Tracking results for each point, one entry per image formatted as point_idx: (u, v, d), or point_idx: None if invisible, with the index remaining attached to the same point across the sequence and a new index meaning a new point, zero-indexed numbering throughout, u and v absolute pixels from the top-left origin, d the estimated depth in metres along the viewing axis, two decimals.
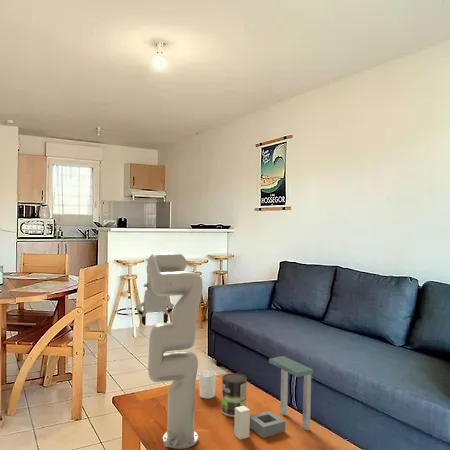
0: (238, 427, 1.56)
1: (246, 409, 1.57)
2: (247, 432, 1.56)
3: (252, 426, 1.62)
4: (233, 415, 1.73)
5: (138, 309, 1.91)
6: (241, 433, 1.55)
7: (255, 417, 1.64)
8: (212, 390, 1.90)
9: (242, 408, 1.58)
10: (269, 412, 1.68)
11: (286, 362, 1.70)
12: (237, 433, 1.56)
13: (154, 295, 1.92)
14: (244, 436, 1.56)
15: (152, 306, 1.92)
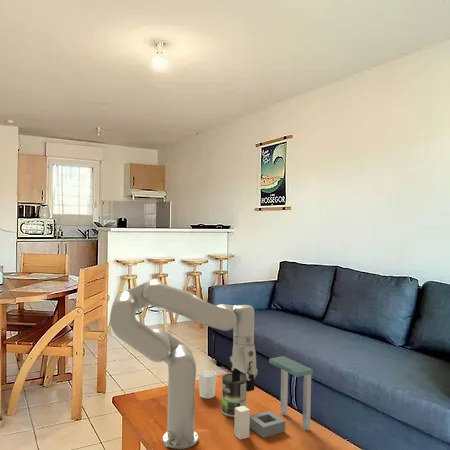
0: (238, 427, 1.56)
1: (246, 409, 1.57)
2: (247, 432, 1.56)
3: (252, 426, 1.62)
4: (233, 415, 1.73)
5: None
6: (241, 433, 1.55)
7: (255, 417, 1.64)
8: (212, 390, 1.90)
9: (242, 408, 1.58)
10: (269, 412, 1.68)
11: (286, 362, 1.70)
12: (237, 433, 1.56)
13: None
14: (244, 436, 1.56)
15: None
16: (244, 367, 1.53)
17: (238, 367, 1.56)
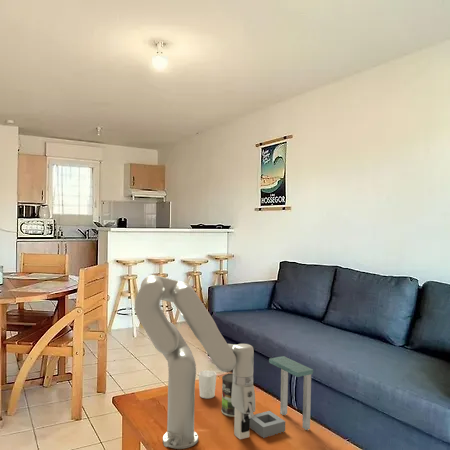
0: (238, 427, 1.56)
1: None
2: (247, 432, 1.56)
3: (252, 426, 1.62)
4: (233, 415, 1.73)
5: None
6: (241, 433, 1.55)
7: (255, 417, 1.64)
8: (212, 390, 1.90)
9: None
10: (269, 412, 1.68)
11: (286, 362, 1.70)
12: (237, 433, 1.56)
13: None
14: (244, 436, 1.56)
15: None
16: (243, 408, 1.53)
17: (237, 407, 1.56)
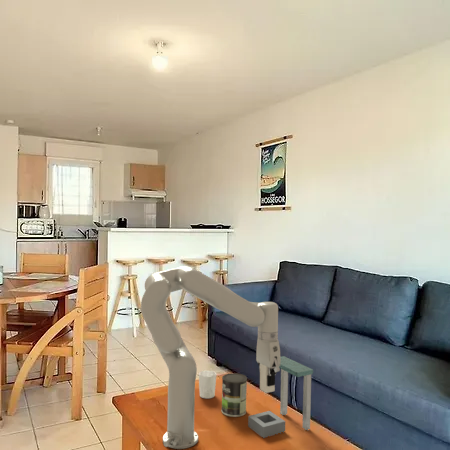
0: (263, 382, 1.61)
1: None
2: (273, 386, 1.62)
3: (252, 426, 1.62)
4: (233, 415, 1.73)
5: None
6: (267, 387, 1.60)
7: (255, 417, 1.64)
8: (212, 390, 1.90)
9: None
10: (269, 412, 1.68)
11: (286, 362, 1.70)
12: (263, 387, 1.61)
13: None
14: (270, 390, 1.61)
15: None
16: (269, 362, 1.58)
17: (263, 362, 1.61)
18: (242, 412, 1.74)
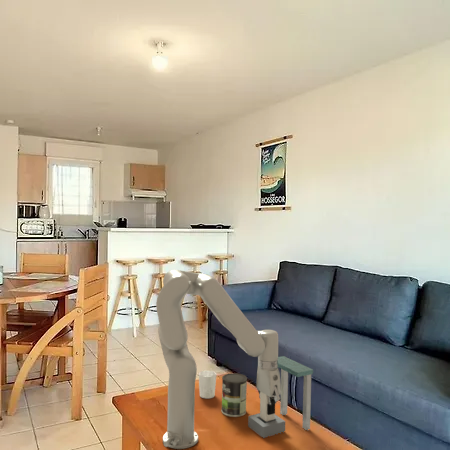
0: (264, 410, 1.61)
1: None
2: (273, 414, 1.62)
3: (252, 426, 1.62)
4: (233, 415, 1.73)
5: None
6: (267, 415, 1.61)
7: (255, 417, 1.64)
8: (212, 390, 1.90)
9: None
10: None
11: (286, 362, 1.70)
12: (263, 415, 1.62)
13: None
14: (270, 418, 1.61)
15: None
16: (269, 391, 1.58)
17: (263, 390, 1.62)
18: (242, 412, 1.74)
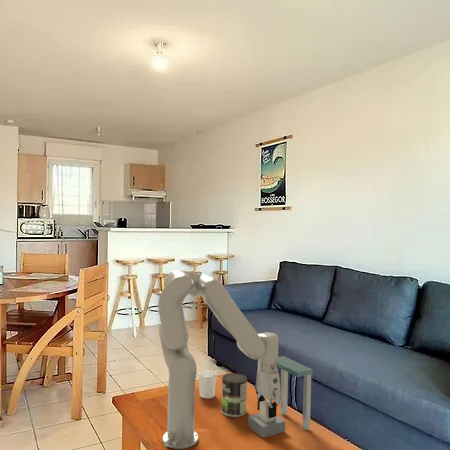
0: (263, 421, 1.61)
1: None
2: None
3: (252, 426, 1.62)
4: (233, 415, 1.73)
5: None
6: None
7: (255, 417, 1.64)
8: (212, 390, 1.90)
9: (267, 402, 1.63)
10: None
11: (286, 362, 1.70)
12: None
13: None
14: None
15: None
16: (269, 394, 1.58)
17: (262, 393, 1.62)
18: (242, 412, 1.74)
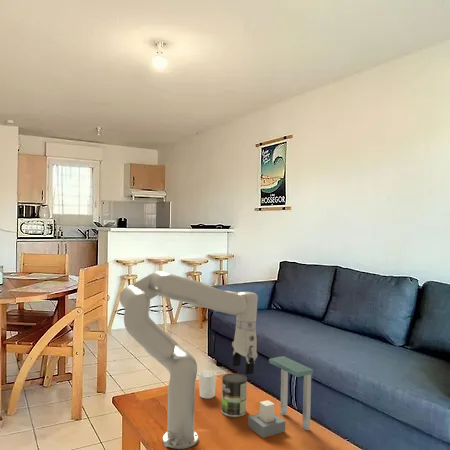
0: (263, 421, 1.61)
1: (271, 403, 1.62)
2: None
3: (252, 426, 1.62)
4: (233, 415, 1.73)
5: None
6: None
7: (255, 417, 1.64)
8: (212, 390, 1.90)
9: (267, 402, 1.63)
10: None
11: (286, 362, 1.70)
12: None
13: None
14: None
15: None
16: (245, 351, 1.59)
17: (239, 351, 1.63)
18: (242, 412, 1.74)
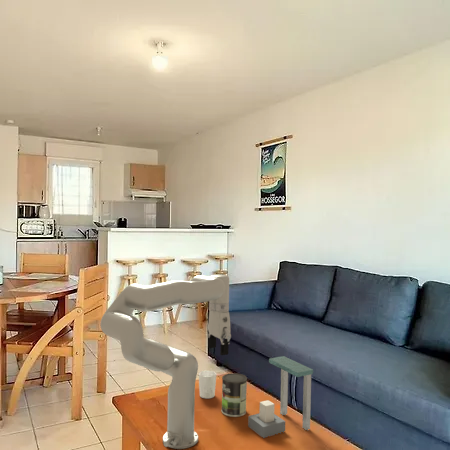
0: (263, 421, 1.61)
1: (271, 403, 1.62)
2: None
3: (252, 426, 1.62)
4: (233, 415, 1.73)
5: None
6: None
7: (255, 417, 1.64)
8: (212, 390, 1.90)
9: (267, 402, 1.63)
10: None
11: (286, 362, 1.70)
12: None
13: None
14: None
15: None
16: (218, 332, 1.61)
17: (213, 333, 1.64)
18: (242, 412, 1.74)
